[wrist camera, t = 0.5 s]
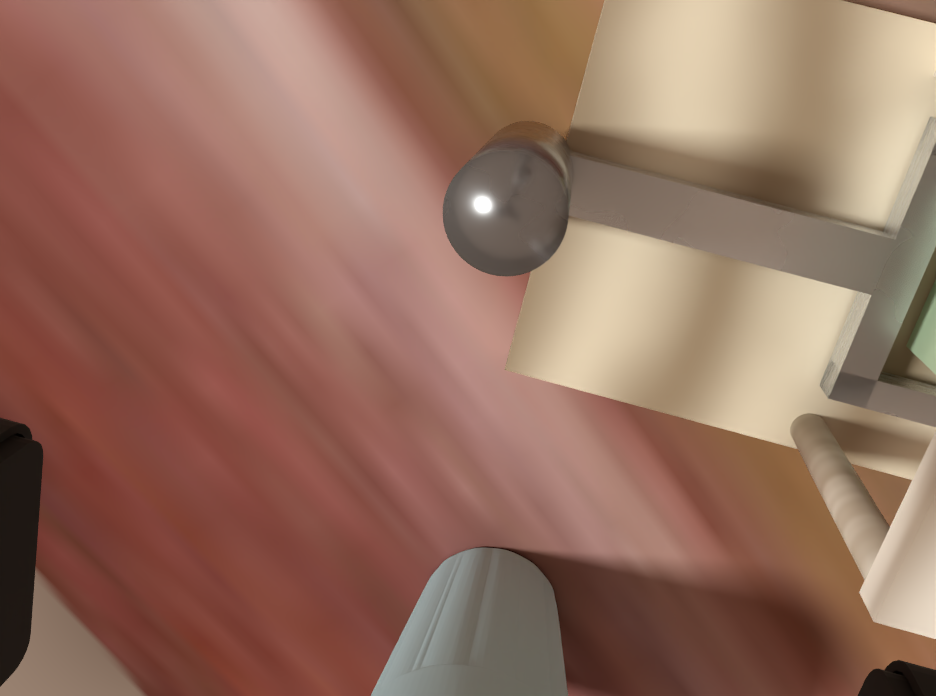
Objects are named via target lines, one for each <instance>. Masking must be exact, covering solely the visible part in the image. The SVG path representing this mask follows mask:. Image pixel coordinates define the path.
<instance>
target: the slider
mask: <svg viewBox="0 0 936 696" xmlns="http://www.w3.org/2000/svg"><path fill="white" fill-rule="evenodd" d="M569 216H572V217H576V218H580V219H584V220H587V221H591V222H595V223H599V224H603V225H606V226H610V227H614V228H618V229H622V230H626V231H629V232H633V233H637V234H641V235H645V236H649V237H652V238H656V239H660V240H664V241H668V242H671V243H675V244H679V245H683V246H687V247H691V248H694V249H698V250H702V251H706V252H710V253H713V254H717V255H721V256H725V257H729V258H733V259H736V260H740V261H744V262H748V263H752V264H755V265H759V266H763V267H767V268H771V269H775V270H778V271H782V272H786V273H790V274H794V275H797V276H801V277H805V278H809V279H813V280H817V281H820V282H824V283H828V284H832V285H836V286H840V287H843V288H847V289H851V290H855V291H858V293H857V295H856V297H855V300H854V302H853V305H852V307H851V309H850V312H849V314H848V317H847V319H846V322H845V324H844V326H843V329H842V331H841V334H840V336H839V339H838V341H837V343H836V346H835V348H834V351H833V353H832V356H831V358H830V360H829V363H828V365H827V368H826V370H825V372H824V375H823V377H822V380H821V382H820V387H821V388H822V390H823V391H824V393H825V394H826V396H827V397H828V399H831V400H835V401H839V402H843V403H846V404H850V405H854V406H858V407H861V408H865V409H869V410H872V411H876V412H880V413H884V414H887V415H891V416H895V417H899V418H902V419H906V420H910V421H914V422H917V423H921V424H925V425H929V426H932V427H936V386H934V385H930V384H926V383H922V382H919V381H915V380H911V379H907V378H904V377H900V376H896V375H892V374H889V373H885V372H881V371H882V368H883V366H884V364H885V362H886V359H887V357H888V355H889V352H890V350H891V348H892V346H893V343H894V341H895V339H896V336H897V334H898V332H899V330H900V327H901V325H902V323H903V320H904V318H905V316H906V314H907V311H908V309H909V307H910V304H911V302H912V300H913V298H914V295H915V293H916V291H917V288H918V286H919V284H920V282H921V279H922V277H923V275H924V272H925V270H926V268H927V266H928V263H929V261H930V259H931V256H932V254H933V252H934V250H935V247H936V118H934V117H930V118H929V120H928V123H927V125H926V128H925V130H924V133H923V135H922V137H921V140H920V142H919V145H918V147H917V150H916V152H915V154H914V157H913V159H912V162H911V164H910V166H909V169H908V171H907V174H906V176H905V179H904V181H903V183H902V186H901V188H900V191H899V193H898V196H897V198H896V200H895V203H894V205H893V208H892V210H891V213H890V215H889V217H888V220H887V222H886V225H885V227H884V229H883V231H880V230H876V229H872V228H868V227H864V226H860V225H856V224H853V223H849V222H845V221H841V220H837V219H833V218H829V217H826V216H822V215H818V214H814V213H810V212H806V211H802V210H798V209H795V208H791V207H787V206H783V205H779V204H775V203H771V202H768V201H764V200H760V199H756V198H752V197H748V196H744V195H740V194H737V193H733V192H729V191H725V190H721V189H717V188H713V187H710V186H706V185H702V184H698V183H694V182H690V181H686V180H682V179H679V178H675V177H671V176H667V175H663V174H659V173H655V172H652V171H648V170H644V169H640V168H636V167H632V166H628V165H624V164H621V163H617V162H613V161H609V160H605V159H601V158H597V157H594V156H590V155H586V154H582V153H578V152H574V151H571V150H570V148H569V146H568V144H567V142H566V141H565V139H564V138H563V137H562V136H561V135H560V134H559V133H558V132H557V131H556V130H554V129H553V128H551V127H549V126H547V125H545V124H542V123H539V122H534V121H521V122H516V123H513V124H510V125H508V126H506V127H504V128H503V129H501V130H500V131H498V132H497V133H496V134H495V135H494V136H493V137H492V138H491V139H490V140H489V141H488V142H487V143H486V144H485V145H484V146H483V147H482V148H481V149H480V150H479V151H478V152H477V153H476V154H475V155H474V156H473V157H472V158H471V159H470V160H469V161H468V162H467V163H466V164H465V165H464V166H463V167H462V168H461V169H460V170H459V172H458V173H457V174H456V175H455V177H454V178H453V180H452V181H451V183H450V185H449V187H448V189H447V192H446V195H445V198H444V204H443V222H444V227H445V231H446V234H447V237H448V239H449V241H450V243H451V245H452V246H453V248H454V249H455V251H456V252H457V253H458V254H459V256H460V257H461V258H462V259H463V260H465V261H466V262H467V263H468V264H470V265H471V266H473V267H474V268H476V269H478V270H480V271H482V272H485V273H488V274H492V275H497V276H516V275H521V274H524V273H527V272H530V271H532V270H534V269H536V268H538V267H540V266H541V265H543V264H544V263H545V262H546V261H548V260H549V259H550V258H551V257H552V256H553V255H554V253H555V252H556V251H557V249H558V248H559V246H560V245H561V243H562V241H563V239H564V236H565V233H566V230H567V225H568V218H569Z"/></svg>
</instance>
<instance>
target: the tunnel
mask: <svg viewBox="0 0 936 696" xmlns="http://www.w3.org/2000/svg"><path fill="white" fill-rule="evenodd" d="M930 117H934V118H936V24H935V23H931V22H927V21H923V20H919V19H915V18H911V17H907V16H903V15H899V14H895V13H891V12H887V11H883V10H879V9H875V8H871V7H867V6H863V5H859V4H855V3H851V2H846V1H842V0H605V1H604V5H603V8H602V12H601V16H600V19H599V23H598V27H597V30H596V34H595V38H594V41H593V45H592V49H591V53H590V56H589V60H588V64H587V67H586V71H585V75H584V78H583V82H582V86H581V89H580V93H579V97H578V100H577V104H576V108H575V112H574V115H573V119H572V123H571V126H570V130H569V134H568V137H567V141H566V142H567V144H568V146H569V148H570V150H571V151H574V152H578V153H582V154H586V155H590V156H594V157H597V158H601V159H605V160H609V161H613V162H617V163H621V164H624V165H628V166H632V167H636V168H640V169H644V170H648V171H652V172H655V173H659V174H663V175H667V176H671V177H675V178H679V179H682V180H686V181H690V182H694V183H698V184H702V185H706V186H710V187H713V188H717V189H721V190H725V191H729V192H733V193H737V194H740V195H744V196H748V197H752V198H756V199H760V200H764V201H768V202H771V203H775V204H779V205H783V206H787V207H791V208H795V209H798V210H802V211H806V212H810V213H814V214H818V215H822V216H826V217H829V218H833V219H837V220H841V221H845V222H849V223H853V224H856V225H860V226H864V227H868V228H872V229H876V230H880V231H883V229H884V227H885V225H886V222H887V220H888V217H889V215H890V213H891V210H892V208H893V205H894V203H895V200H896V198H897V196H898V193H899V191H900V188H901V186H902V183H903V181H904V179H905V176H906V174H907V171H908V169H909V166H910V164H911V162H912V159H913V157H914V154H915V152H916V150H917V147H918V145H919V142H920V140H921V137H922V135H923V133H924V130H925V128H926V125H927V123H928V120H929V118H930ZM935 279H936V247H935V250H934V252H933V254H932V256H931V259H930V261H929V263H928V266H927V268H926V270H925V272H924V275H923V277H922V279H921V282H920V284H919V286H918V288H917V291H916V293H915V295H914V298H913V300H912V302H911V304H910V307H909V309H908V311H907V314H906V316H905V318H904V320H903V323H902V325H901V327H900V330H899V332H898V334H897V336H896V339H895V341H894V343H893V346H892V348H891V350H890V352H889V355H888V357H887V359H886V362H885V364H884V366H883V368H882V371H881V372H885V373H889V374H892V375H896V376H900V377H904V378H907V379H911V380H915V381H919V382H922V383H926V384H930V385H934V386H936V374H934V373H933V372H932V371H931V370H930V369H929V368H928V367H927V366H926V365H925V364H924V363H923V362H922V361H921V360H920V359H919V358H918V357H917V356H916V355H915V354H914V353H913V352H912V351H911V350H910V349H909V348H908V347H907V346H906V345H907V343H908V340H909V338H910V336H911V334H912V331H913V329H914V327H915V325H916V322H917V320H918V318H919V316H920V313H921V311H922V309H923V306H924V304H925V302H926V300H927V297H928V295H929V293H930V291H931V288H932V286H933V284H934V282H935ZM857 293H858V291H855V290H851V289H847V288H843V287H840V286H836V285H832V284H828V283H824V282H820V281H817V280H813V279H809V278H805V277H801V276H797V275H794V274H790V273H786V272H782V271H778V270H775V269H771V268H767V267H763V266H759V265H755V264H752V263H748V262H744V261H740V260H736V259H733V258H729V257H725V256H721V255H717V254H713V253H710V252H706V251H702V250H698V249H694V248H691V247H687V246H683V245H679V244H675V243H671V242H668V241H664V240H660V239H656V238H652V237H649V236H645V235H641V234H637V233H633V232H629V231H626V230H622V229H618V228H614V227H610V226H606V225H603V224H599V223H595V222H591V221H587V220H584V219H580V218H576V217H572V216H569V218H568V225H567V230H566V233H565V236H564V239H563V241H562V243H561V245H560V246H559V248H558V249H557V251H556V252H555V253H554V255H553V256H552V257H551V258H550V259H549V260H548V261H546V262H545V263H544V264H543V265H541V266H540V267H538V268H536V269H534V270H532V271H531V274H530V277H529V281H528V285H527V288H526V292H525V296H524V299H523V303H522V307H521V310H520V314H519V318H518V322H517V325H516V329H515V333H514V336H513V340H512V344H511V347H510V351H509V355H508V359H507V363H506V367H505V370H507V371H511V372H514V373H518V374H522V375H525V376H529V377H533V378H537V379H540V380H544V381H548V382H551V383H555V384H559V385H563V386H566V387H570V388H574V389H577V390H581V391H585V392H588V393H592V394H596V395H600V396H603V397H607V398H611V399H614V400H618V401H622V402H625V403H629V404H633V405H637V406H640V407H644V408H648V409H651V410H655V411H659V412H662V413H666V414H670V415H674V416H677V417H681V418H685V419H688V420H692V421H696V422H700V423H703V424H707V425H711V426H714V427H718V428H722V429H725V430H729V431H733V432H737V433H740V434H744V435H748V436H751V437H755V438H759V439H762V440H766V441H770V442H774V443H777V444H781V445H785V446H788V447H792V448H796V449H798V450H799V452H800V454H801V456H802V458H803V460H804V462H805V464H806V466H807V468H808V470H809V472H810V474H811V476H812V478H813V480H814V482H815V484H816V486H817V488H818V490H819V491H820V493H821V495H822V497H823V499H824V501H825V503H826V505H827V507H828V509H829V511H830V513H831V515H832V517H833V519H834V521H835V523H836V525H837V527H838V529H839V531H840V533H841V535H842V537H843V539H844V541H845V543H846V545H847V546H848V548H849V550H850V552H851V554H852V556H853V558H854V560H855V562H856V564H857V566H858V568H859V570H860V572H861V574H862V576H863V578H864V580H865V581H864V583H863V586H862V588H861V590H860V592H859V593H860V595H861V597H862V599H863V601H864V603H865V605H866V607H867V609H868V611H869V613H870V615H871V617H872V619H873V621H874V622H876V623H880V624H883V625H887V626H891V627H894V628H898V629H901V630H905V631H909V632H912V633H916V634H920V635H923V636H927V637H930V638H934V639H936V427H932V426H929V425H925V424H921V423H917V422H914V421H910V420H906V419H902V418H899V417H895V416H891V415H887V414H884V413H880V412H876V411H872V410H869V409H865V408H861V407H858V406H854V405H850V404H846V403H843V402H839V401H835V400H831V399H828V397H827V396H826V394H825V393H824V391H823V390H822V388H821V387H820V382H821V380H822V377H823V375H824V372H825V370H826V368H827V365H828V363H829V360H830V358H831V356H832V353H833V351H834V348H835V346H836V343H837V341H838V339H839V336H840V334H841V331H842V329H843V326H844V324H845V322H846V319H847V317H848V314H849V312H850V309H851V307H852V305H853V302H854V300H855V297H856V295H857ZM851 464H855V465H859V466H862V467H866V468H870V469H874V470H877V471H881V472H885V473H888V474H892V475H896V476H899V477H903V478H907V479H911V480H912V482H911V484H910V486H909V488H908V491H907V493H906V495H905V497H904V499H903V501H902V503H901V505H900V507H899V510H898V512H897V514H896V516H895V518H894V520H893V522H892V524H891V526H890V527H889V525H888V523H887V522H886V520H885V519H884V517H883V515H882V514H881V512H880V510H879V509H878V507H877V506H876V504H875V502H874V501H873V499H872V497H871V496H870V494H869V493H868V491H867V489H866V488H865V486H864V484H863V483H862V481H861V480H860V478H859V476H858V475H857V473H856V471H855V470H854V468H853V467H852V465H851Z"/></svg>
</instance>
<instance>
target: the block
mask: <svg viewBox="0 0 936 696" xmlns="http://www.w3.org/2000/svg"><path fill="white" fill-rule="evenodd" d="M906 346H907V347H908V348H909V349H910V350H911V351H912V352H913V353H914V354H915V355H916V356H917V357H918V358H919V359H920V360H921V361H922V362H923V363H924V364H925V365H926V366H927V367H928V368H929V369H930V370H931V371H932V372H933V373H934V374H936V279H935V282H934V284H933V286H932V288H931V291H930V293H929V295H928V297H927V300H926V302H925V304H924V306H923V309H922V311H921V313H920V316H919V318H918V320H917V322H916V325H915V327H914V329H913V331H912V334H911V336H910V338H909V340H908V343H907V345H906Z"/></svg>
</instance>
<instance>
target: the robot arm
mask: <svg viewBox="0 0 936 696" xmlns="http://www.w3.org/2000/svg"><path fill="white" fill-rule="evenodd" d="M42 465H43V449H42V446H41V444H40V443H39V442H37V441H34V440H32V434H31V432H30V429H29V428H28V427H27V426H26V425H25V424H21V423H17V422H14V421H10V420H6V419H3V418H0V686H1V685H2V684H3V683H4V682H5V681H6V680H7V679H8V678H9V677H10V675H11V674H12V673H13V672H14V671H15V670H16V668H17V667H18V666H19V664H20V662H21V661H22V659H23V657H24V655H25V653H26V650H27V647H28V644H29V641H30V634H31V620H32V605H33V592H34V578H35V564H36V550H37V536H38V522H39V508H40V494H41V479H42ZM858 696H936V670H934V669H930V668H926V667H922V666H919V665H915V664H911V663H908V662H904V661H900V660H898V661H893V662H892V663H890V664H889V665H888V666H887V667H886V669H885V670H881V669H874V670H873V671H871V672H870V673H869V674H868V676H867V678H866V679H865V681H864V684H863V686H862V688H861V690H860V692H859V694H858Z"/></svg>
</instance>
